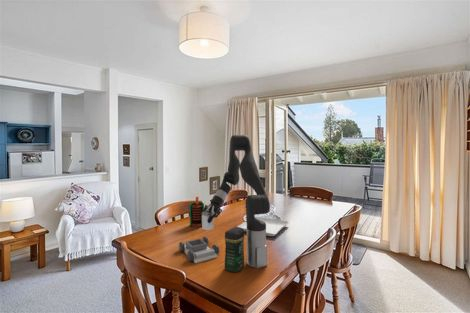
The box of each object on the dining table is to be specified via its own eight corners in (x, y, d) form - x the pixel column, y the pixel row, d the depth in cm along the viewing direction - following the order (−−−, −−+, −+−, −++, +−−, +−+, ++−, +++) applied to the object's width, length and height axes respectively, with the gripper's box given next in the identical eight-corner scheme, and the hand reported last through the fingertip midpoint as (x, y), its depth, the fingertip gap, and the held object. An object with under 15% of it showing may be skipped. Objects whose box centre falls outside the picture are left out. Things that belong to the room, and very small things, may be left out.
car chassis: (220, 256, 130) (220, 246, 129) (191, 264, 122) (191, 254, 121) (203, 243, 147) (203, 234, 146) (178, 249, 139) (178, 240, 138)
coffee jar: (237, 274, 112) (236, 233, 111) (222, 270, 116) (221, 230, 115) (247, 265, 120) (246, 226, 119) (232, 261, 124) (232, 224, 123)
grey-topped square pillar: (213, 228, 154) (213, 212, 154) (207, 230, 151) (207, 213, 150) (208, 226, 158) (207, 210, 157) (202, 228, 154) (201, 212, 153)
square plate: (254, 220, 189) (254, 215, 189) (289, 226, 175) (289, 221, 175) (235, 232, 166) (235, 226, 166) (275, 239, 152) (275, 233, 152)
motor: (190, 228, 173) (190, 199, 172) (189, 224, 182) (188, 196, 181) (205, 226, 176) (204, 198, 175) (203, 222, 185) (203, 195, 183)
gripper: (208, 193, 164) (194, 216, 155) (224, 196, 154) (210, 220, 146) (214, 200, 168) (201, 222, 159) (230, 203, 158) (217, 227, 150)
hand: (205, 221), depth 152 cm, fingers closed on grey-topped square pillar, 5 cm apart
